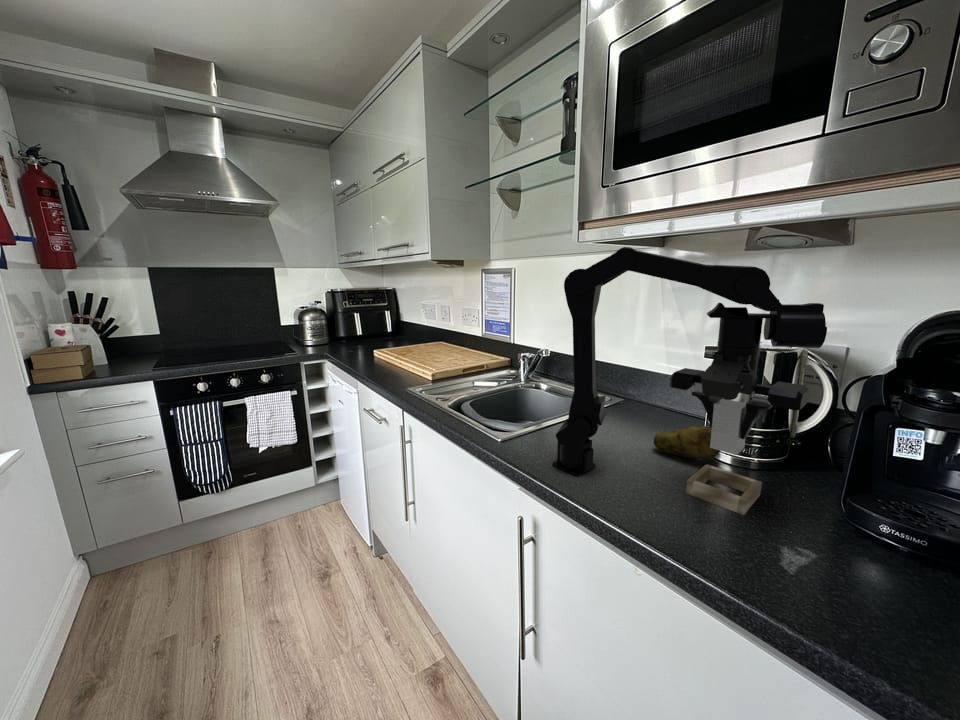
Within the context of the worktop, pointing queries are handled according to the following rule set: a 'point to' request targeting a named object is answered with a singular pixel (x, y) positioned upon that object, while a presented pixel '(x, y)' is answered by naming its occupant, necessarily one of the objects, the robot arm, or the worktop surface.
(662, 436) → the potato
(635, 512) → the worktop surface
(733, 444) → the brushed grey square prism
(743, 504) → the frame
